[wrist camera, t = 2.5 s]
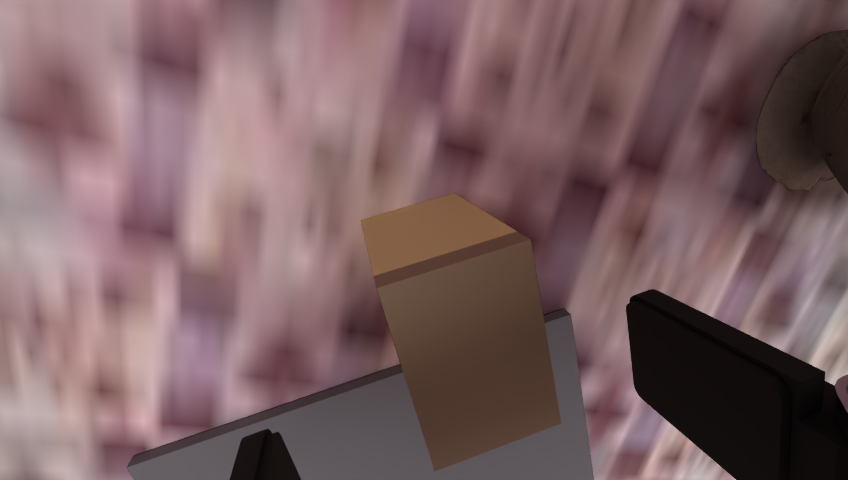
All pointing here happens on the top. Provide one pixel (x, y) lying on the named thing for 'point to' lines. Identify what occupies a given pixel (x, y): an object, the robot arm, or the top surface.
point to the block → (464, 325)
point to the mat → (387, 434)
